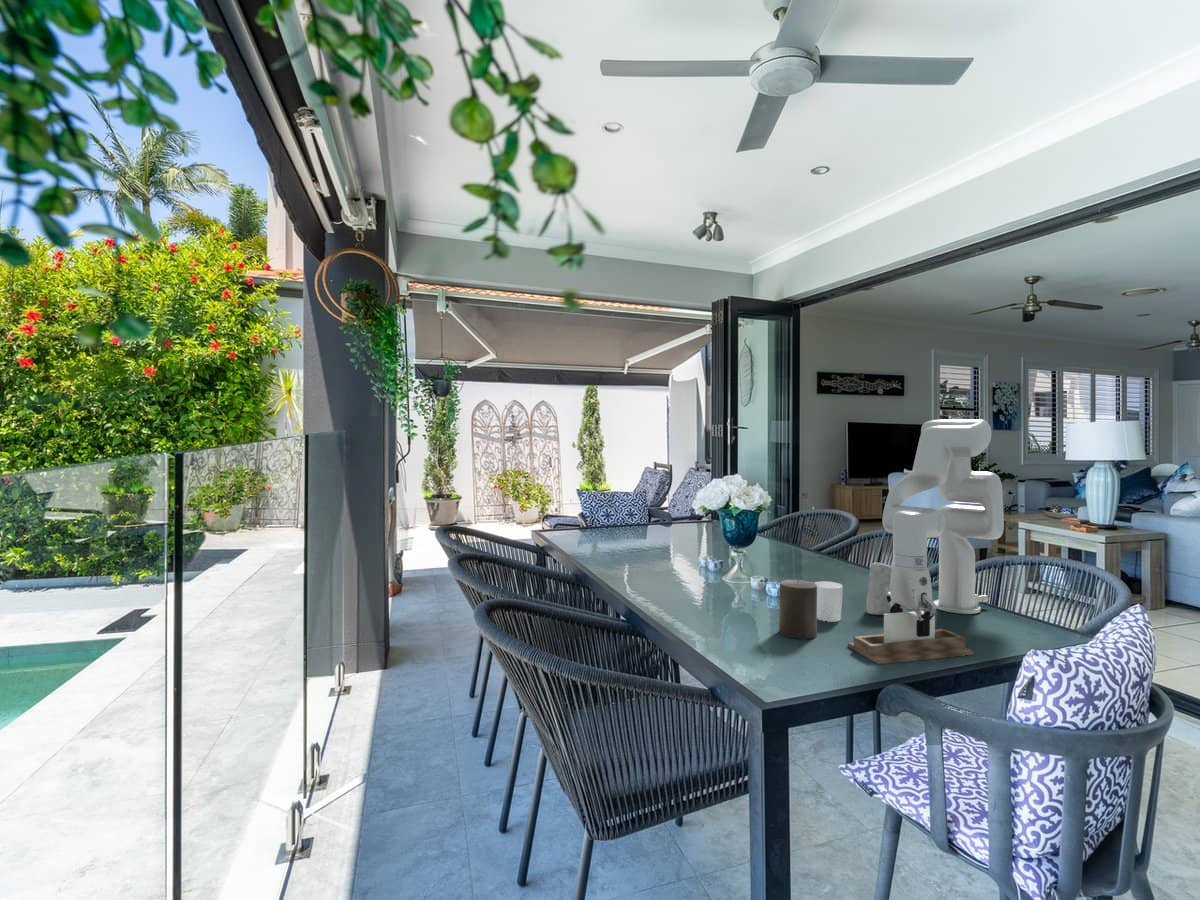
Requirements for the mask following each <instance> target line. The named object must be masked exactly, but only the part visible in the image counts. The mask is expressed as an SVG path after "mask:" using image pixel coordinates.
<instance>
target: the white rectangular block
mask: <svg viewBox="0 0 1200 900" xmlns="http://www.w3.org/2000/svg"><path fill="white" fill-rule="evenodd" d="M921 613H922V615H923V614H924V612H923V611H921ZM917 620H919V619H918V617H917V614H916V612H915V610H913V611H907V612H901V613H888V614H884V615H883V634H884V643H891V642H902V641H913V640H925V639H935V630H936V614H935V613H934V616H933V617H932V620H930V635H929V636H924V637H918V636H917V635H916V624H917Z"/></svg>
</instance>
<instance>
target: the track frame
mask: <svg viewBox="0 0 1200 900" xmlns="http://www.w3.org/2000/svg"><path fill="white" fill-rule="evenodd" d="M966 640H967V639H966V637H965V636H962V635H959V634H957V633H956V632H953V631H951V630H948V629H945V628H939V629H935V639H925V640H913V641H902V642H891V643H884V633H882V634H869V635H868V634H867V635H859V636H853V642H847V648H850V649H851V650H853V651H854V650H855V652H856V653H858V654H860V655H861V656H863V657H864V658H866V659H869V661H871V662H873V663H875V664H877V665H885V664H894V663H904V662H905V663H906V662H914V661H923V660H924V661H925V660H934V659H935V660H937V659H944V658H947V657H948V658H956V656H958V657H966V656H965V655H968V656H974V650H972V649H970V648H967V647H966Z"/></svg>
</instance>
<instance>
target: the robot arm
mask: <svg viewBox="0 0 1200 900" xmlns="http://www.w3.org/2000/svg"><path fill="white" fill-rule="evenodd" d="M991 439H992V427H991V425H990V424H989V422H988V421H987V420H985V419H982V418H981V419H978V418H977V419H969V418H968V419H966V418H965V419H956V418H955V419H950V418H949V419H933V420H932V419H931V420H928V421H925V422H924V423H922V425H921V429H920V436H919V440H918V445H917V448H916V449H917V450H916V454H915V458H914V462H913V466H912V469H911V472H909V473H907V474H906V475H905V476H903V477H902V478H900V479H899V480H898V482H896V483H895V484H894V485H893V487H891V489H890V490H889V492H888V494H887V497H886V500H885V503H884V507H883V513H882V518H881V519H882V521H881V522H882V527H883V528H884V530H885V531H886V532H887V533H890V534H892V565H891V566H892V571H891V579H890V586H889V587H886V588H885V592H886V595H887V600H888V602H889V608H890V613H901V612H903V608H900V607H901V606H904V607H906V608H907V609H909V610H912V611H915V612H916V614H917V617H918V619H919V620H917V624H916V635H917V636H918V637H924V636H929V635H930V620H932V617H933V616H934V614H935V613H936V612H937V610H940V611H943V612H948V613H952V614H960V615H961V614H962V615H974V614H975V615H976V614H979V613H980V612H981V610H982V609H981V606H980V605H979V603H984V602H988V601H989V596H988V595H986V594H983V595H978V594H976V552H975V548H974V547H973V545H972V544H971V543H970V542H969V540H968V539H969V538H970V539H971V538H972V539H980V540H981V539H982V540H998V539H1000V538H1001V537H1002V535H1003V534H1004V529H1005V519H1004V517H1005V516H1004V498H1003V497H1004V496H1003V485H1002V484H1003V483H1002V481H1001V478H1000V476H999V475H998V474H997V473H995V472H991V471H979V470H978V471H977V470H976V471H974V470H972V465H971V458H975V457H978V456H980V454H982V453H983V452H984V451H986V449H987V448H988V447H989V445H990V442H991ZM937 487H938V488H939V493H940V496H941V498H942V499H943V500H944V501H947V502H950V503H961V504H945V505H943V506H940V507H939V508H938V509H936V508H931V507H922V506H921V507H920V506H919V507H918V506H910V505H908V506H907V505H902V504H903V502H905V500H907V499H908V498H910V497H911V496H914V495H917V494H919V493H922V492H925V491H928V490H932V489H935V488H937ZM967 504H969V505H967ZM970 504H977V505H978V506H977V505H970ZM979 505H981V506H979ZM937 537H938V599H935V600H933V589H932V581H931V580H932V579H931V574H930V570H929V569H928V568H927V567H928V539H934V538H937ZM967 538H968V539H967ZM921 611H923V612H924V614H923V615H922V613H921Z"/></svg>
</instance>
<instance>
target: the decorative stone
mask: <svg viewBox="0 0 1200 900" xmlns="http://www.w3.org/2000/svg"><path fill="white" fill-rule="evenodd" d="M892 566H893V565H889V564H886V563H882V562H872V563H871V564H870V567H869V575H868V582H867V583H868V585H867V592H866V593H867V595H866V613H867V614H870V615H874V616H884V614H888V613H890V608H889V602H888V600H887V595H886V592H885V588H886V587H889V586H890V579H891V571H892ZM900 608H903V612H908V608H906V607H904V606H901V607H900Z"/></svg>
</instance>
